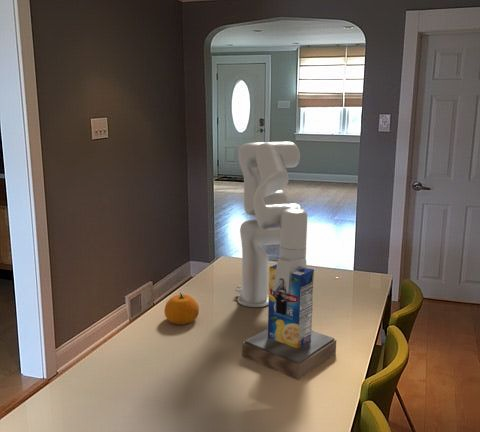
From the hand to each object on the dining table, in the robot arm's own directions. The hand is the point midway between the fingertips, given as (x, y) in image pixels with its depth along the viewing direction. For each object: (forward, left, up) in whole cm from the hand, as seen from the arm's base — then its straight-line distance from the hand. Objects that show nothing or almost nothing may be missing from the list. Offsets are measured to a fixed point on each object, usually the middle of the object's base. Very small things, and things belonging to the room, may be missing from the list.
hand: (290, 308), depth 150 cm
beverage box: (0, 0, -10) cm, 10 cm away
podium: (0, 0, -15) cm, 15 cm away
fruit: (-42, -4, -15) cm, 45 cm away
